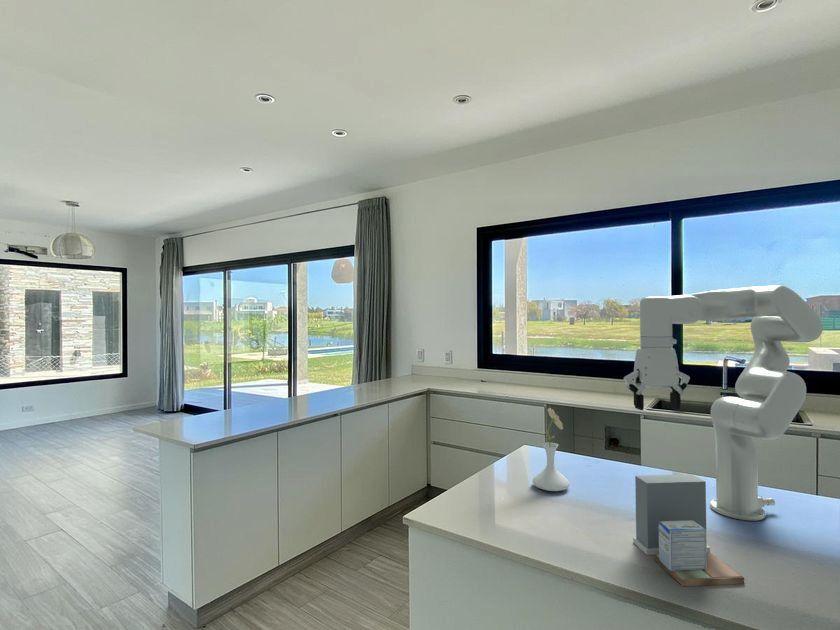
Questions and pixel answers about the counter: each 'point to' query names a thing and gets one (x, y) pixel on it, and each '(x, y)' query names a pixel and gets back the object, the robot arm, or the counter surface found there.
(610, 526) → the counter surface
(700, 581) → the board
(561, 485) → the flower in vase
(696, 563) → the medicine box
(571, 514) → the counter surface
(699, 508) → the cabinet
